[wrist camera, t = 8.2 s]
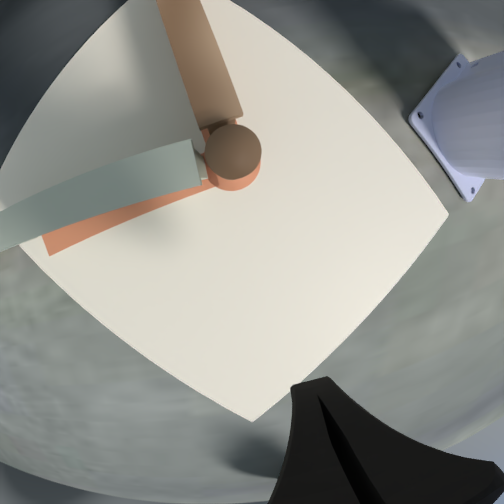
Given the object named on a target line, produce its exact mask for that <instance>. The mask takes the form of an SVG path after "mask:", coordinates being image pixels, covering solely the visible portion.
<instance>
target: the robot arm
mask: <svg viewBox="0 0 504 504" xmlns="http://www.w3.org/2000/svg"><path fill="white" fill-rule="evenodd" d="M457 65H458V66H457ZM418 113H419V114H420V117H421V118H419V117H418ZM409 123H410V124H411V126H412V127H413V128H414V130H415V131H416V132H417V133H418V135H419V136H420V137H421V138H422V140H423V141H424V142H425V143H426V145H427V146H428V147H429V149H430V150H431V151H432V153H433V154H434V156H435V157H436V158H437V160H438V161H439V162H440V164H441V165H442V167H443V168H444V170H445V171H446V173H447V174H448V176H449V177H450V179H451V180H452V182H453V183H454V185H455V186H456V188H457V189H458V191H459V192H460V194H461V196H462V197H463V199H464V200H465V201H466V202H471V201H472V200H473V198H474V197H475V195H476V193H477V192H478V190H479V189H480V187H481V185H482V183H483V182H484V180H485V178H490V179H501V180H504V51H502V52H499V53H496V54H493V55H490V56H487V57H484V58H481V59H478V60H476V61H473V62H470V63H469V62H468V61H467V59H466V58H465V57H464V56H463V55H462V54H459V55H457V56H456V57H455V58H454V60H453V61H452V62H451V63H450V65H449V66H448V67H447V69H446V70H445V71H444V72H443V74H442V75H441V76H440V78H439V79H438V80H437V81H436V83H435V84H434V85H433V86H432V88H431V89H430V90H429V91H428V93H427V94H426V95H425V96H424V98H423V99H422V100H421V101H420V103H419V104H418V105H417V106H416V108H415V109H414V110H413V111H412V113H411V114H410V115H409ZM471 189H472V191H471ZM290 391H291V397H292V420H291V430H290V436H289V441H288V446H287V451H286V455H285V458H284V462H283V465H282V468H281V472H280V475H279V477H278V480H277V483H276V485H275V488H274V490H273V493H272V495H271V497H270V500H269V502H268V504H493V503H494V502H495V501H496V500H497V499H498V498H499V497H500V495H501V494H502V493H503V492H504V473H503V472H502V470H501V469H500V468H499V467H498V466H497V465H496V464H495V463H494V462H492V461H484V460H477V459H471V458H465V457H461V456H457V455H453V454H449V453H446V452H443V451H441V450H438V449H435V448H432V447H430V446H427V445H424V444H422V443H419V442H417V441H415V440H413V439H411V438H409V437H407V436H405V435H403V434H401V433H399V432H398V431H396V430H394V429H392V428H391V427H389V426H388V425H386V424H384V423H383V422H381V421H380V420H378V419H377V418H376V417H374V416H373V415H371V414H370V413H369V412H367V411H366V410H365V409H364V408H362V407H361V406H360V405H359V404H357V403H356V402H355V401H354V400H353V399H351V398H350V397H349V396H348V395H347V394H346V393H345V392H344V391H343V390H342V389H341V388H340V387H339V386H337V385H336V383H335V382H334V381H333V380H332V379H331V378H329V377H328V376H326V377H322V378H319V379H315V380H311V381H307V382H302V383H298V384H294V385H292V386H291V387H290Z"/></svg>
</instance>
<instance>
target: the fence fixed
mask: <svg viewBox="0 0 504 504" xmlns="http://www.w3.org/2000/svg"><path fill="white" fill-rule="evenodd" d="M156 3H157V6H158V9H159V12H160V15H161V18H162V21H163V24H164V27H165V30H166V33H167V36H168V39H169V42H170V45H171V48H172V51H173V54H174V57H175V60H176V63H177V66H178V69H179V72H180V74H181V77H182V80H183V83H184V86H185V89H186V92H187V95H188V98H189V101H190V104H191V107H192V110H193V113H194V116H195V119H196V121H197V124H198V127H199V129H200V131H201V130H204V129H206V128H207V129H208V131H209V134H210V136H209V138H208V140H207V142H206V145H205V158H206V162H207V164H208V166H209V167H210V169H211V170H212V171H213V172H214V173H216V174H217V175H218V176H220V177H222V178H224V179H226V180H236V179H240V178H243V177H245V176H247V175H249V174H250V173H252V172H253V171H254V170H255V169H256V167H257V166H258V164H259V162H260V159H261V154H262V149H261V144H260V141H259V139H258V137H257V136H256V134H255V133H254V132H253V131H252V130H250V129H249V128H247V127H245V126H242V125H238V124H235V120H236V119H237V118H240V117H243V114H244V113H243V110H242V108H241V105H240V102H239V99H238V97H237V94H236V91H235V89H234V86H233V83H232V80H231V78H230V75H229V73H228V70H227V67H226V65H225V62H224V59H223V57H222V54H221V52H220V49H219V46H218V44H217V41H216V39H215V36H214V34H213V31H212V29H211V26H210V24H209V21H208V19H207V16H206V14H205V11H204V9H203V6H202V4H201V1H200V0H156Z"/></svg>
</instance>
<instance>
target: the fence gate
mask: <svg viewBox="0 0 504 504" xmlns="http://www.w3.org/2000/svg"><path fill="white" fill-rule="evenodd" d="M205 179H208V175H207V171H206V166H205V162H204V158H203V156H202V155H201V154H200V153H199V152H198V151H197V150H196V149H195V148H194V146H193V141H192V140H191V139H188V140H184V141H180V142H177V143H173V144H170V145H166V146H163V147H159V148H156V149H153V150H149V151H146V152H143V153H140V154H137V155H134V156H131V157H128V158H125V159H122V160H119V161H116V162H113V163H110V164H108V165H105V166H102V167H99V168H97V169H94V170H91V171H89V172H86V173H84V174H81V175H79V176H76V177H74V178H71V179H69V180H66V181H64V182H62V183H59V184H57V185H55V186H52V187H50V188H48V189H45V190H43V191H41V192H39V193H37V194H35V195H32V196H30V197H28V198H26V199H24V200H22V201H20V202H18V203H16V204H14V205H12V206H10V207H8V208H6V209H4V210H2V211H0V252H1V251H4V250H6V249H9V248H11V247H14V246H16V245H19V244H21V243H24V242H27V241H29V240H32V239H35V238H37V237H38V236H41V235H43V234H46V233H49V232H51V231H54V230H57V229H59V228H62V227H65V226H68V225H71V224H73V223H76V222H79V221H82V220H85V219H88V218H91V217H94V216H97V215H100V214H103V213H106V212H109V211H112V210H116V209H119V208H122V207H125V206H128V205H132V204H135V203H138V202H142V201H145V200H149V199H152V198H156V197H159V196H163V195H166V194H170V193H173V192H177V191H181V190H185V189H188V188H192V187H196V186H200V185H203V184H202V180H205Z"/></svg>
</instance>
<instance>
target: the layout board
mask: <svg viewBox="0 0 504 504" xmlns="http://www.w3.org/2000/svg"><path fill="white" fill-rule="evenodd" d="M200 1H201V4H202V6H203V9H204V11H205V14H206V16H207V19H208V21H209V24H210V26H211V29H212V31H213V34H214V36H215V39H216V41H217V44H218V46H219V49H220V52H221V54H222V57H223V59H224V62H225V65H226V67H227V70H228V73H229V75H230V78H231V80H232V83H233V86H234V89H235V91H236V94H237V97H238V99H239V102H240V105H241V108H242V110H243V113H244V114H243V117H240V118H237V119H236V120H235V124H238V125H242V126H245V127H247V128H249V129H250V130H252V131H253V132H254V133H255V134H256V136H257V137H258V139H259V141H260V144H261V149H262V154H261V159H260V162H259V164H258V166H257V167H256V169H255V170H254V171H253V172H252V173H250V174H249V175H247V176H245V177H243V178H240V179H236V180H226V179H224V178H222V177H220V176H218V175H217V174H216V173H214V172H213V171H212V170H211V169H210V167H209V166H208V164H207V162H206V158H205V145H206V142H207V140H208V138H209V136H210V134H209V131H208V129H207V128H206V129H204V130H201V131H200V129H199V127H198V124H197V121H196V119H195V116H194V113H193V110H192V107H191V104H190V101H189V98H188V95H187V92H186V89H185V86H184V83H183V80H182V77H181V74H180V72H179V69H178V66H177V63H176V60H175V57H174V54H173V51H172V48H171V45H170V42H169V39H168V36H167V33H166V30H165V27H164V24H163V21H162V18H161V15H160V12H159V9H158V6H157V3H156V0H128V1H127V2H126V3H125V4H124V5H123V6H121V7H120V8H119V9H118V10H117V11H116V12H115V13H114V14H113V15H112V16H111V17H110V18H109V19H108V20H107V21H106V22H105V23H104V24H103V25H102V26H101V27H100V28H99V29H98V30H97V31H96V32H95V33H94V34H93V35H92V36H91V37H90V38H89V39H88V40H87V42H86V43H85V44H84V45H83V46H82V47H81V48H80V49H79V51H78V52H77V53H76V54H75V55H74V56H73V58H72V59H71V60H70V61H69V62H68V64H67V65H66V66H65V67H64V69H63V70H62V71H61V72H60V74H59V75H58V76H57V78H56V79H55V80H54V82H53V83H52V84H51V86H50V87H49V88H48V90H47V91H46V93H45V94H44V96H43V97H42V98H41V100H40V101H39V103H38V104H37V106H36V107H35V109H34V110H33V112H32V114H31V115H30V117H29V118H28V120H27V122H26V123H25V125H24V126H23V128H22V130H21V132H20V133H19V135H18V137H17V139H16V140H15V142H14V144H13V146H12V148H11V149H10V151H9V153H8V155H7V157H6V159H5V161H4V163H3V165H2V167H1V169H0V211H2V210H4V209H6V208H8V207H10V206H12V205H14V204H16V203H18V202H20V201H22V200H24V199H26V198H28V197H30V196H32V195H35V194H37V193H39V192H41V191H43V190H45V189H48V188H50V187H52V186H55V185H57V184H59V183H62V182H64V181H66V180H69V179H71V178H74V177H76V176H79V175H81V174H84V173H86V172H89V171H91V170H94V169H97V168H99V167H102V166H105V165H108V164H110V163H113V162H116V161H119V160H122V159H125V158H128V157H131V156H134V155H137V154H140V153H143V152H146V151H149V150H153V149H156V148H159V147H163V146H166V145H170V144H173V143H177V142H180V141H184V140H188V139H191V140H192V141H193V146H194V148H195V149H196V150H197V151H198V152H199V153H200V154H201V155H202V156H203V158H204V162H205V166H206V171H207V175H208V179H205V180H202V184H203V185H200V186H196V187H192V188H188V189H185V190H181V191H177V192H173V193H170V194H166V195H163V196H159V197H156V198H152V199H149V200H145V201H142V202H138V203H135V204H132V205H128V206H125V207H122V208H119V209H116V210H112V211H109V212H106V213H103V214H100V215H97V216H94V217H91V218H88V219H85V220H82V221H79V222H76V223H73V224H71V225H68V226H65V227H62V228H59V229H57V230H54V231H51V232H49V233H46V234H43V235H41V236H38V237H37V238H35V239H32V240H29V241H27V242H24V243H21V244H19V246H20V247H21V248H22V249H23V250H24V251H25V252H26V253H27V254H28V255H29V256H30V257H31V258H32V260H33V261H34V262H35V263H36V264H37V265H38V266H39V267H40V268H41V269H42V270H43V271H44V272H45V273H46V274H47V275H48V276H49V277H50V278H51V279H52V280H54V281H55V282H56V283H57V284H58V285H59V286H60V287H61V288H62V289H63V290H64V291H65V292H66V293H67V294H68V295H70V296H71V297H72V298H73V299H74V300H75V301H76V302H77V303H79V304H80V305H81V306H82V307H83V308H84V309H85V310H87V311H88V312H89V313H90V314H91V315H92V316H94V317H95V318H96V319H97V320H98V321H100V322H101V323H102V324H103V325H105V326H106V327H107V328H108V329H109V330H111V331H112V332H113V333H115V334H116V335H117V336H118V337H120V338H121V339H122V340H124V341H125V342H126V343H127V344H129V345H130V346H131V347H133V348H134V349H136V350H137V351H138V352H140V353H141V354H142V355H144V356H145V357H147V358H148V359H149V360H151V361H152V362H154V363H155V364H156V365H158V366H159V367H161V368H162V369H164V370H165V371H167V372H168V373H170V374H171V375H173V376H174V377H176V378H177V379H179V380H180V381H182V382H184V383H185V384H187V385H188V386H190V387H191V388H193V389H195V390H196V391H198V392H200V393H201V394H203V395H205V396H206V397H208V398H210V399H211V400H213V401H215V402H216V403H218V404H220V405H222V406H223V407H225V408H227V409H229V410H231V411H232V412H234V413H236V414H238V415H240V416H242V417H243V418H245V419H247V420H249V421H251V422H253V421H254V420H256V419H257V418H258V417H260V416H261V415H262V414H263V413H265V412H266V411H267V410H268V409H269V408H271V407H272V406H273V405H274V404H275V403H277V402H278V401H279V400H280V399H281V398H283V397H284V396H285V395H286V394H287V393H288V392H290V387H291V386H292V385H294V384H298V383H300V382H301V381H302V380H303V379H304V378H305V377H306V376H308V375H309V374H310V373H311V372H312V371H313V370H314V369H315V368H316V367H317V366H318V365H319V364H320V363H321V362H323V361H324V360H325V359H326V358H327V357H328V356H329V355H330V354H331V353H332V352H333V351H334V350H335V349H336V348H337V347H338V346H339V345H340V344H341V343H342V342H343V341H344V340H345V339H346V338H347V337H348V336H349V335H350V334H351V333H352V332H353V331H354V330H355V329H356V328H357V327H358V326H359V324H360V323H361V322H362V321H363V320H364V319H365V318H366V317H367V316H368V315H369V314H370V313H371V312H372V310H373V309H374V308H375V307H376V306H377V305H378V304H379V303H380V302H381V300H382V299H383V298H384V297H385V296H386V295H387V294H388V292H389V291H390V290H391V289H392V288H393V287H394V285H395V284H396V283H397V282H398V281H399V279H400V278H401V277H402V276H403V275H404V273H405V272H406V271H407V270H408V269H409V267H410V266H411V265H412V264H413V262H414V261H415V260H416V259H417V257H418V256H419V255H420V253H421V252H422V251H423V250H424V248H425V247H426V246H427V244H428V243H429V242H430V240H431V239H432V238H433V236H434V235H435V234H436V232H437V231H438V229H439V228H440V227H441V225H442V224H443V222H444V221H445V220H446V218H447V217H448V215H449V214H448V212H447V211H446V209H445V208H444V206H443V205H442V203H441V202H440V200H439V199H438V197H437V196H436V195H435V193H434V192H433V190H432V189H431V188H430V186H429V185H428V183H427V182H426V181H425V179H424V178H423V177H422V175H421V174H420V173H419V171H418V170H417V169H416V168H415V166H414V165H413V164H412V162H411V161H410V160H409V159H408V157H407V156H406V155H405V154H404V153H403V151H402V150H401V149H400V148H399V147H398V145H397V144H396V143H395V142H394V141H393V139H392V138H391V137H390V136H389V135H388V134H387V133H386V131H385V130H384V129H383V128H382V127H381V126H380V125H379V124H378V123H377V122H376V120H375V119H374V118H373V117H372V116H371V115H370V114H369V113H368V112H367V111H366V110H365V109H364V108H363V107H362V106H361V105H360V104H359V103H358V102H357V101H356V100H355V99H354V98H353V97H352V96H351V95H350V94H349V93H348V92H347V91H346V90H345V89H344V88H343V87H342V86H341V85H340V84H339V83H338V82H337V81H336V80H334V79H333V78H332V77H331V76H330V75H329V74H328V73H327V72H326V71H324V70H323V69H322V68H321V67H320V66H319V65H318V64H316V63H315V62H314V61H313V60H312V59H311V58H309V57H308V56H307V55H306V54H304V53H303V52H302V51H301V50H300V49H298V48H297V47H296V46H295V45H293V44H292V43H291V42H289V41H288V40H287V39H286V38H284V37H283V36H282V35H280V34H279V33H278V32H276V31H275V30H273V29H272V28H271V27H269V26H268V25H266V24H265V23H264V22H262V21H261V20H259V19H258V18H256V17H255V16H253V15H252V14H250V13H249V12H247V11H246V10H244V9H243V8H241V7H240V6H238V5H236V4H235V3H233V2H231V1H230V0H200Z"/></svg>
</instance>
